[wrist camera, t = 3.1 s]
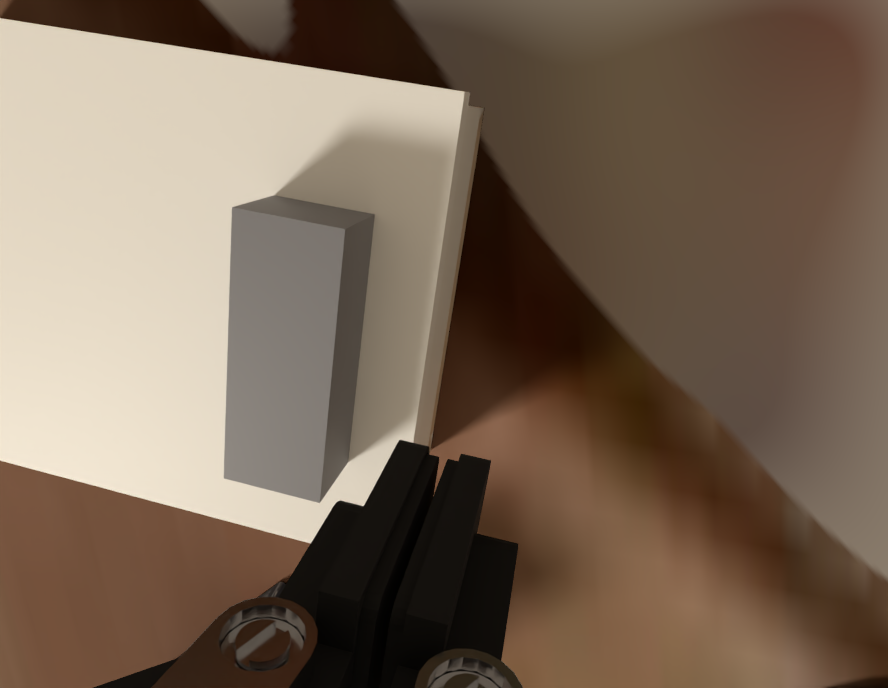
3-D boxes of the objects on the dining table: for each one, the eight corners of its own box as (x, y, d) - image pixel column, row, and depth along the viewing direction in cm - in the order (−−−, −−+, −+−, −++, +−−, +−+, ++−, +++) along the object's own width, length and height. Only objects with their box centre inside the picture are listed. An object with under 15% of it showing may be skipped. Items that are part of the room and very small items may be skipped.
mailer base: (484, 107, 24) (450, 109, 18) (430, 450, 29) (390, 532, 23) (-8, 28, 27) (-167, 8, 21) (21, 352, 32) (-101, 404, 26)
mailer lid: (485, 93, 20) (445, 90, 15) (420, 508, 26) (372, 616, 20) (-120, -2, 23) (-336, -34, 18) (-65, 385, 29) (-218, 450, 23)
